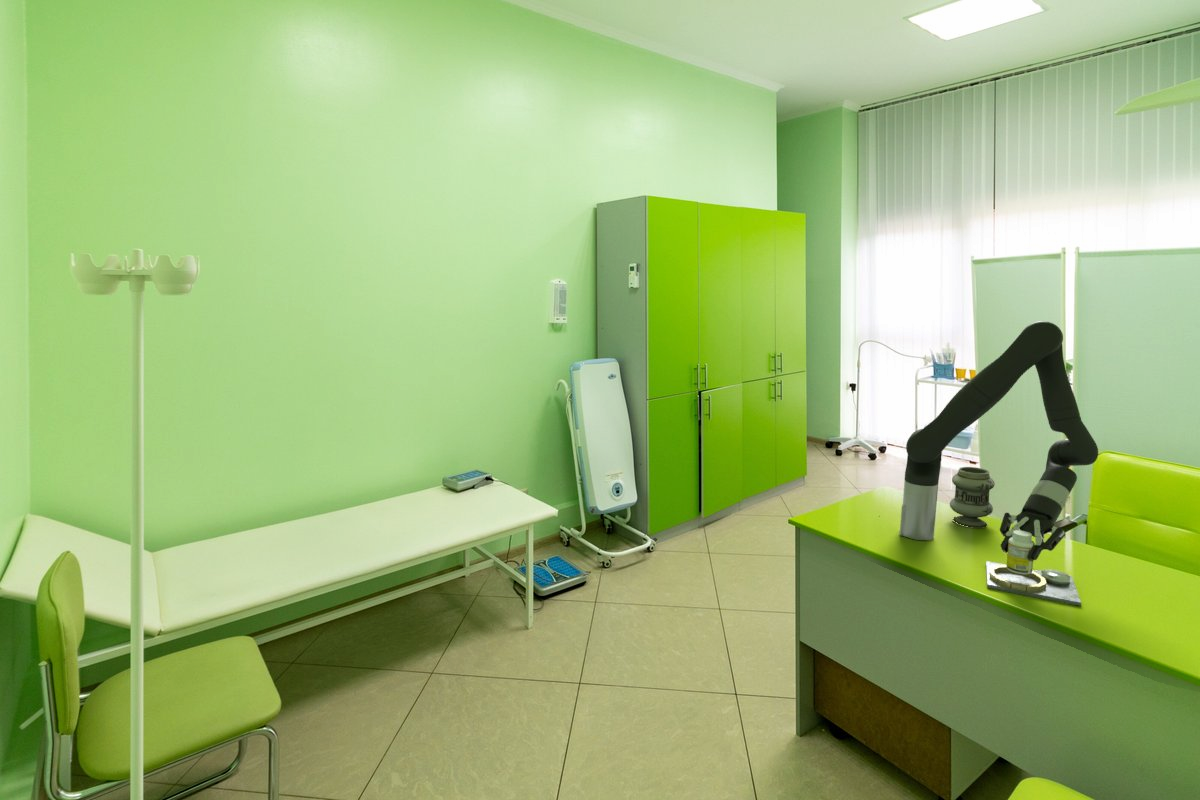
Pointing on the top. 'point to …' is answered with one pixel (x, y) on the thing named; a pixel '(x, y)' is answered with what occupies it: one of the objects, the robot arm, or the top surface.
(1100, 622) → the top surface
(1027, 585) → the carrier plate
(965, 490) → the apothecary jar
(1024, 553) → the supplement bottle
